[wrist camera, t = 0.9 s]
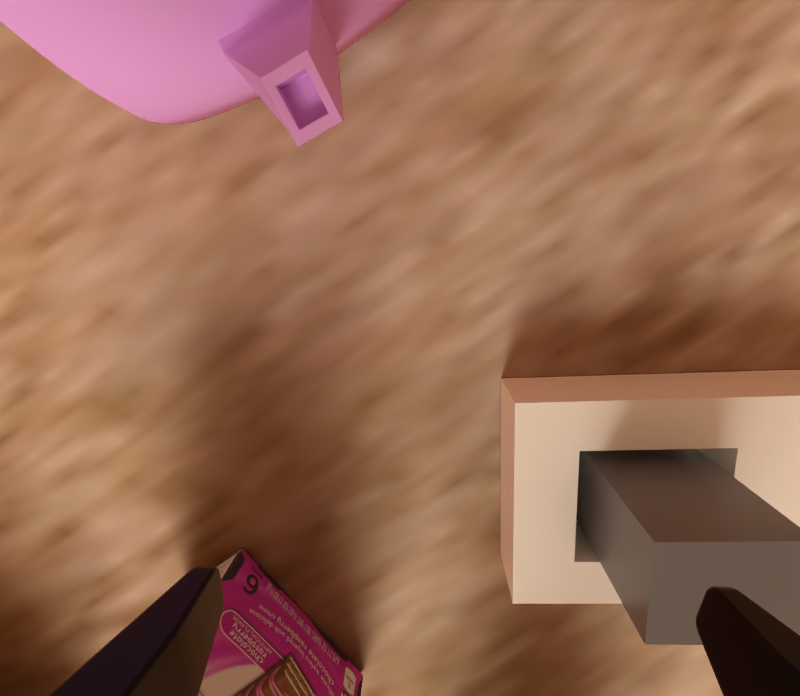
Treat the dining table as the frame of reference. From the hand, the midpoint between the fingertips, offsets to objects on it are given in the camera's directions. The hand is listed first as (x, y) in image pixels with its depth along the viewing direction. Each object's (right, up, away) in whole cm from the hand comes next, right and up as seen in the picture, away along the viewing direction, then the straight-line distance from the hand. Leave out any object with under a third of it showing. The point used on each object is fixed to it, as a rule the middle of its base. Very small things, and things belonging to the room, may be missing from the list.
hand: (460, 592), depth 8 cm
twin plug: (+10, -2, +14) cm, 18 cm away
